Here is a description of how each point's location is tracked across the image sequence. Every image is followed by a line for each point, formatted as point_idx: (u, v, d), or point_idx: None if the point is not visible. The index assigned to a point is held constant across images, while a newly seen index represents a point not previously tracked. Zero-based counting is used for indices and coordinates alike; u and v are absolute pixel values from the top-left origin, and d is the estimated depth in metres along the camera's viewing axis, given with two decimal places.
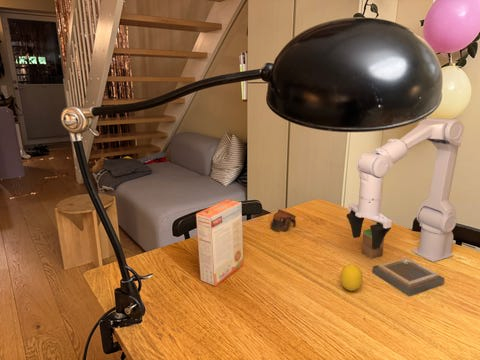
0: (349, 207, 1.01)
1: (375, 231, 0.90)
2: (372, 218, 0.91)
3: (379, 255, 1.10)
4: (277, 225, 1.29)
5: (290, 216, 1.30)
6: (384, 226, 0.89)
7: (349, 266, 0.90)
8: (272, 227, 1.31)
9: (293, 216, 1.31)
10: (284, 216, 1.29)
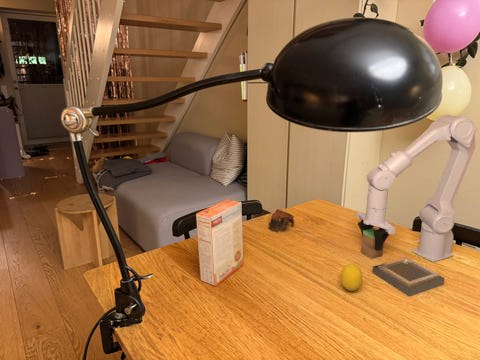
0: (357, 215, 1.14)
1: (378, 235, 1.04)
2: (378, 225, 1.05)
3: (379, 255, 1.10)
4: (275, 225, 1.29)
5: (288, 216, 1.30)
6: (389, 232, 1.02)
7: (349, 266, 0.90)
8: (270, 227, 1.31)
9: (291, 216, 1.31)
10: (282, 216, 1.29)
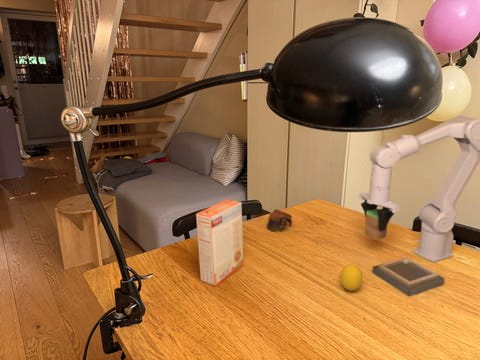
0: (360, 195, 1.11)
1: (382, 214, 1.02)
2: (382, 204, 1.02)
3: (382, 236, 1.07)
4: (273, 225, 1.29)
5: (286, 216, 1.30)
6: (393, 211, 1.00)
7: (349, 266, 0.90)
8: (268, 227, 1.31)
9: (289, 216, 1.31)
10: (280, 216, 1.29)
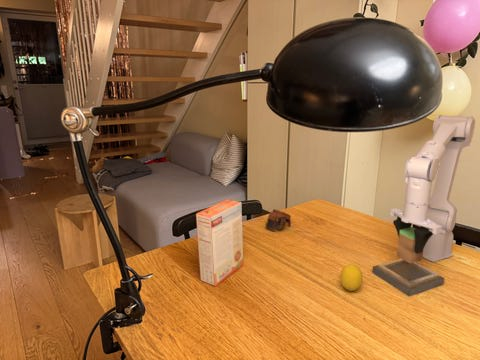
0: (392, 212, 0.98)
1: (420, 235, 0.89)
2: (420, 224, 0.89)
3: (418, 259, 0.94)
4: (272, 225, 1.30)
5: (285, 216, 1.30)
6: (434, 232, 0.87)
7: (349, 266, 0.90)
8: (267, 227, 1.31)
9: (288, 216, 1.31)
10: (279, 216, 1.30)
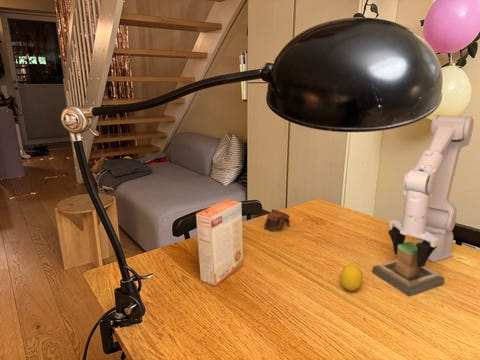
0: (391, 223, 0.99)
1: (423, 249, 0.89)
2: (418, 236, 0.90)
3: (416, 273, 0.95)
4: (271, 225, 1.30)
5: (284, 216, 1.30)
6: (432, 245, 0.88)
7: (349, 266, 0.90)
8: (266, 227, 1.31)
9: (287, 216, 1.31)
10: (278, 216, 1.30)
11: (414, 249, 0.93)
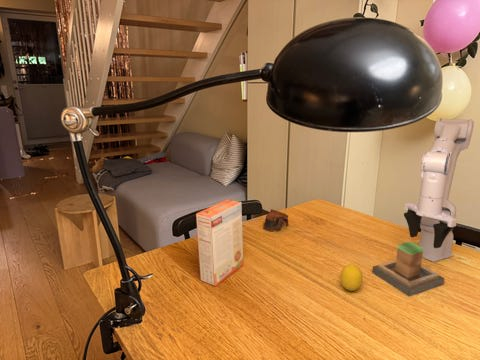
0: (406, 206, 1.00)
1: (440, 229, 0.89)
2: (435, 217, 0.91)
3: (416, 273, 0.95)
4: (270, 225, 1.30)
5: (283, 216, 1.30)
6: (449, 225, 0.88)
7: (349, 266, 0.90)
8: (265, 227, 1.31)
9: (286, 216, 1.31)
10: (277, 216, 1.30)
11: (414, 249, 0.93)
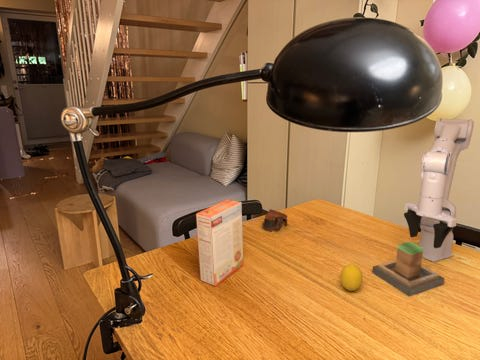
0: (406, 206, 1.00)
1: (440, 229, 0.89)
2: (435, 217, 0.91)
3: (416, 273, 0.95)
4: (269, 225, 1.30)
5: (282, 216, 1.30)
6: (449, 225, 0.88)
7: (349, 266, 0.90)
8: (264, 227, 1.31)
9: (285, 216, 1.31)
10: (276, 216, 1.30)
11: (414, 249, 0.93)
